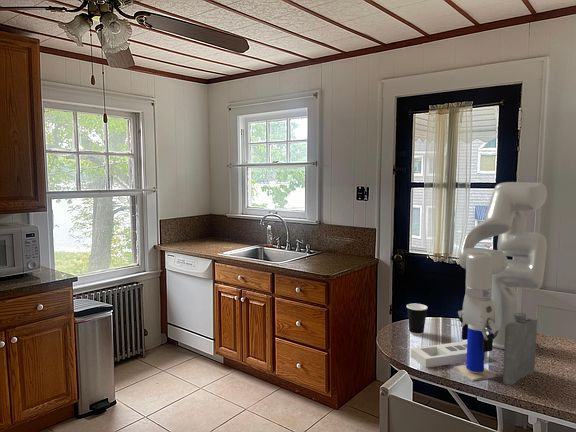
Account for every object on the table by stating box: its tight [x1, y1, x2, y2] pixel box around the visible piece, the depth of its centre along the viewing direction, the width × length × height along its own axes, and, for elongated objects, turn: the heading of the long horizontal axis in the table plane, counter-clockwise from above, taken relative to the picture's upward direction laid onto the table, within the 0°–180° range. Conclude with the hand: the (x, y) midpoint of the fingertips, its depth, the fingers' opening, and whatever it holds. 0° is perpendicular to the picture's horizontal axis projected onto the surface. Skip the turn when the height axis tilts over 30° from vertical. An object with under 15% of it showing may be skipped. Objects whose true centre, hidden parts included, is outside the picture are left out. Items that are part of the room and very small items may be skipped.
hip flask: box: [502, 312, 538, 386], centre depth 137 cm, size 16×4×20 cm, turn 127°
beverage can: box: [465, 324, 487, 374], centre depth 140 cm, size 5×5×15 cm
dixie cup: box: [406, 303, 429, 337], centre depth 174 cm, size 8×8×11 cm
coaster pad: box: [453, 364, 498, 382], centre depth 141 cm, size 9×9×1 cm
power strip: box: [410, 340, 488, 369], centre depth 152 cm, size 24×9×4 cm, turn 106°
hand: (476, 345), depth 140 cm, fingers open, 9 cm apart
